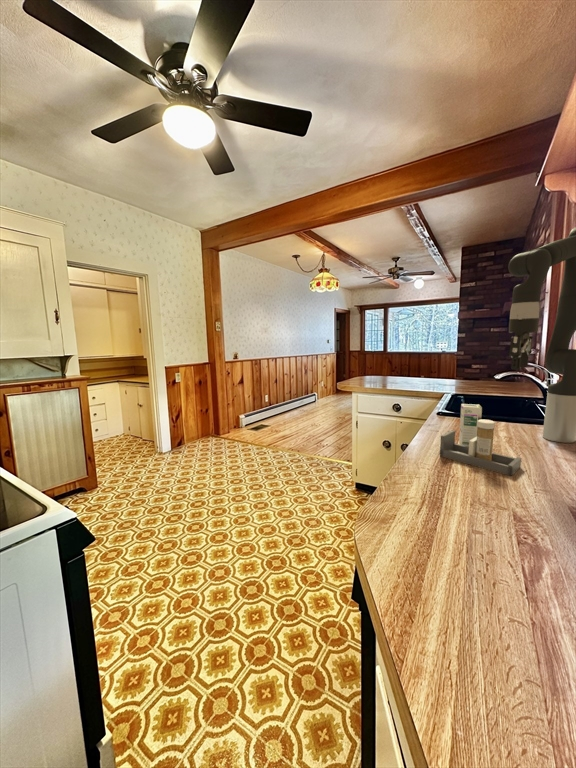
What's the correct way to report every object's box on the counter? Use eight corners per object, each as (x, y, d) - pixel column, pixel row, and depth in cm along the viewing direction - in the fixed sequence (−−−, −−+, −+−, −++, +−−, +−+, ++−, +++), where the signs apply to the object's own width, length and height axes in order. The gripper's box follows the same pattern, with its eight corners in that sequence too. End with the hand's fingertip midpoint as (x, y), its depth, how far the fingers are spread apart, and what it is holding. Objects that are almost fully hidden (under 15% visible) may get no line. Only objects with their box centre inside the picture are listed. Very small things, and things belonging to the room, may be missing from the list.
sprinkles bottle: (494, 463, 97) (498, 421, 95) (487, 467, 94) (490, 423, 92) (478, 458, 101) (482, 418, 98) (471, 462, 98) (474, 420, 96)
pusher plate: (475, 451, 101) (476, 436, 101) (479, 452, 100) (480, 437, 100) (468, 456, 98) (469, 440, 97) (472, 457, 97) (473, 441, 96)
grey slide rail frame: (451, 449, 109) (452, 430, 108) (520, 467, 93) (522, 445, 92) (439, 455, 103) (440, 435, 102) (511, 476, 88) (513, 452, 87)
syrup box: (460, 446, 112) (463, 406, 109) (458, 440, 117) (461, 402, 115) (479, 447, 110) (482, 407, 107) (476, 442, 115) (479, 403, 113)
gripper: (516, 318, 107) (512, 365, 109) (502, 318, 98) (498, 369, 101) (544, 317, 101) (539, 367, 104) (532, 316, 92) (527, 371, 95)
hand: (519, 368), depth 102 cm, fingers open, 8 cm apart
